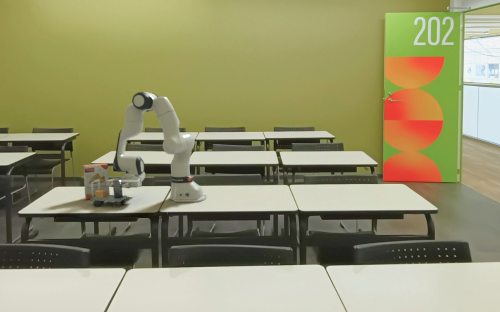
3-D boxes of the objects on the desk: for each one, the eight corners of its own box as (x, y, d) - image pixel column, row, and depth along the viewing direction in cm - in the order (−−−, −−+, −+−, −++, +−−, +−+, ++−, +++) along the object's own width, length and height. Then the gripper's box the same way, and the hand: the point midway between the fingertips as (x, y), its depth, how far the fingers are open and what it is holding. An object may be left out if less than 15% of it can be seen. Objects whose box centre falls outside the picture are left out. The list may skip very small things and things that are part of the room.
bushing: (124, 196, 277) (122, 179, 275) (120, 198, 272) (118, 180, 271) (116, 196, 278) (115, 179, 276) (112, 198, 273) (111, 181, 272)
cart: (127, 203, 279) (126, 179, 277) (120, 207, 271) (118, 183, 268) (99, 202, 283) (98, 178, 281) (91, 206, 275) (89, 182, 272)
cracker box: (86, 200, 288) (84, 166, 285) (85, 198, 293) (82, 164, 290) (110, 197, 295) (108, 164, 291) (108, 195, 300) (106, 162, 296)
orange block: (107, 195, 279) (107, 189, 278) (103, 197, 274) (102, 192, 274) (99, 195, 280) (99, 189, 280) (95, 197, 275) (94, 191, 275)
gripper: (112, 175, 288) (100, 180, 275) (143, 176, 283) (132, 181, 270) (113, 185, 289) (101, 190, 276) (144, 186, 284) (133, 192, 271)
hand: (117, 186), depth 273 cm, fingers open, 6 cm apart
